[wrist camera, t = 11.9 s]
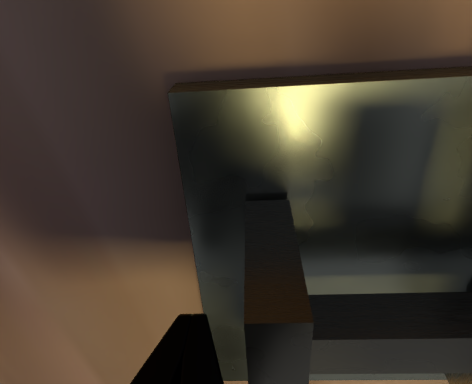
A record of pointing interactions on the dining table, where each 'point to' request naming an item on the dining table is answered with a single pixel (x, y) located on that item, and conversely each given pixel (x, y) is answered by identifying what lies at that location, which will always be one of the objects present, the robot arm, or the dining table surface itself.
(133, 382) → the robot arm
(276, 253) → the jaw
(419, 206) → the vise
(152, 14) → the dining table surface
